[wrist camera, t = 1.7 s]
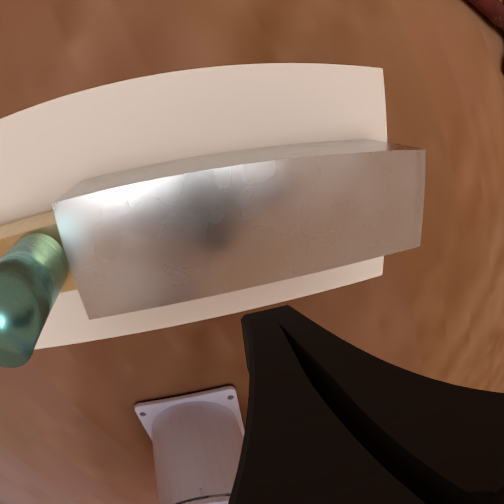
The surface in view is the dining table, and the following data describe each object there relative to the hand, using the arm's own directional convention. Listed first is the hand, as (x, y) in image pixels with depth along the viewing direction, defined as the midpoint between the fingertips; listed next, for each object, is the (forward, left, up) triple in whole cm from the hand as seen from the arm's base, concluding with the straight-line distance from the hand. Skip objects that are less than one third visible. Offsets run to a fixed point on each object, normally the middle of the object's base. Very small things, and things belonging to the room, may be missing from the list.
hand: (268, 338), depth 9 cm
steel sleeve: (+2, -2, -10) cm, 10 cm away
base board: (+2, +6, -11) cm, 12 cm away
